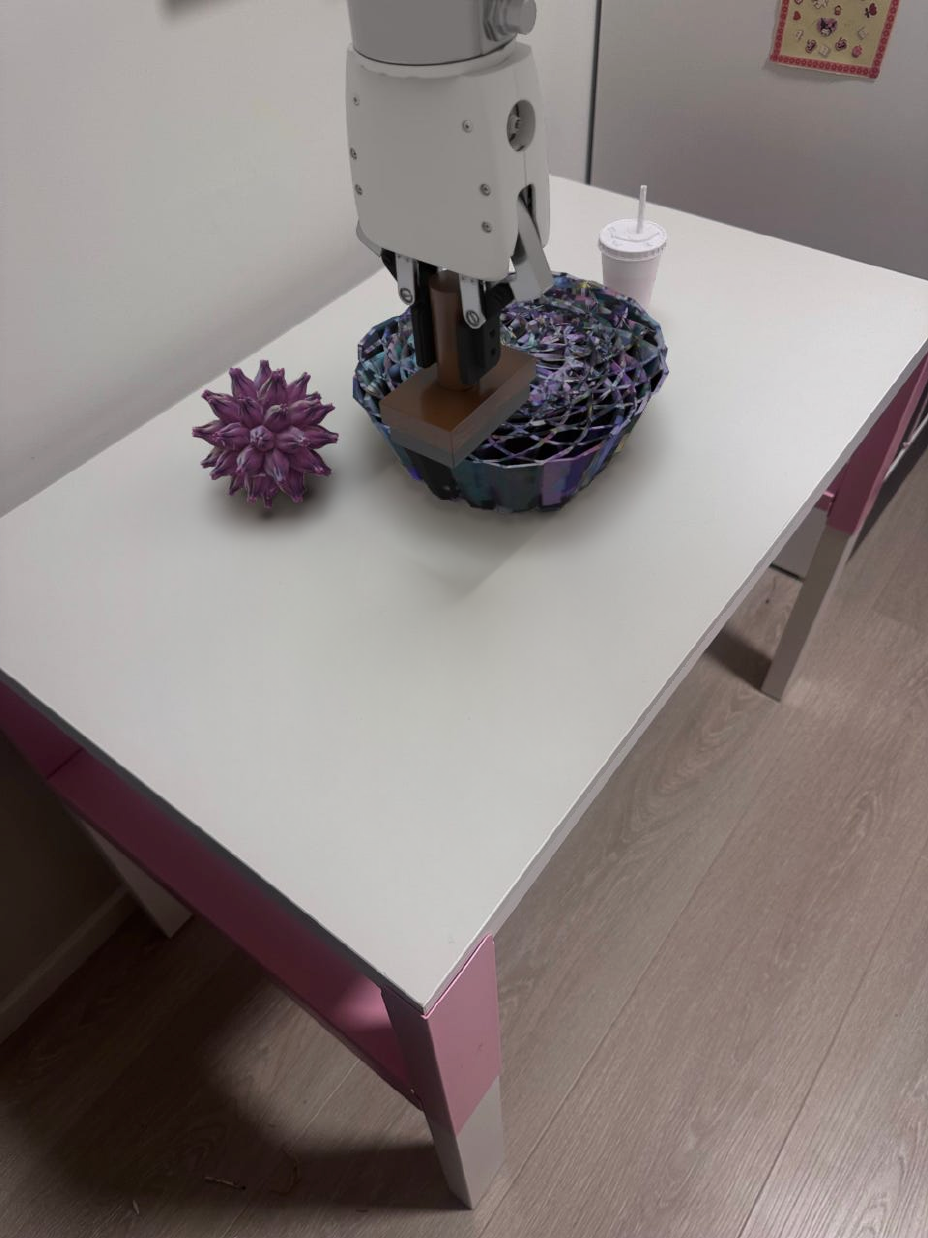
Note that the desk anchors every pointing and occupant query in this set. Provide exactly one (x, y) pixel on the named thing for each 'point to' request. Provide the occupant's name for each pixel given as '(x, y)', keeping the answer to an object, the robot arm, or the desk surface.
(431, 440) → the stamp
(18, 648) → the desk surface
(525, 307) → the decorative bowl
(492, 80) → the robot arm
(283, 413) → the flower
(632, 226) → the smoothie
